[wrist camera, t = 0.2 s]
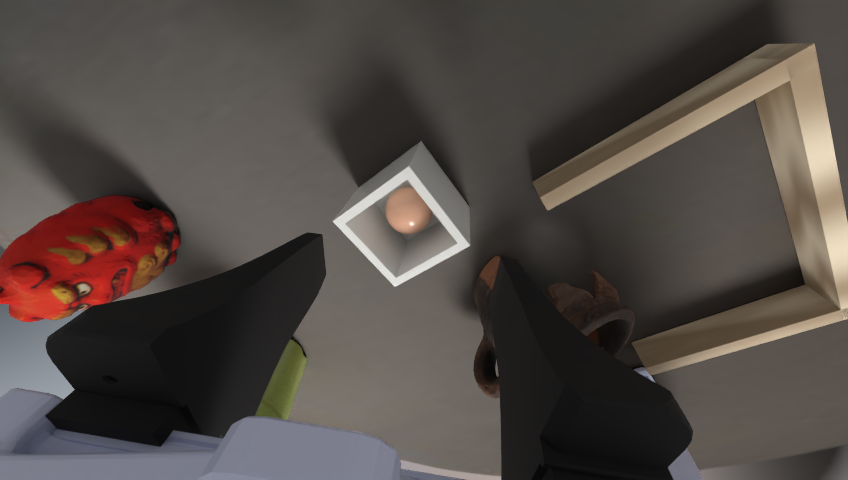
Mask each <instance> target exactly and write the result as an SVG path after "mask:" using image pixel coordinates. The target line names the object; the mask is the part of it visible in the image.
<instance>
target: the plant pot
mask: <svg viewBox="0 0 848 480" xmlns="http://www.w3.org/2000/svg"><path fill="white" fill-rule="evenodd" d="M306 362H307V358H306V357H305V356H304V355H303V352H302V348H301V347H300V346H299V345H298V344H297V343H296V342H295V341H293V340H292V339H290V341H289V342H288V344H287V346H286V348H285V350H284V352H283V354H282V356H281V358H280V360H279V362H278V364H277V366H276V368H275V371H274V373H273V375H272V377H271V380H270V382H269V384H268V386H267V389H266V391H265V393H264V395H263V398H262V400H261V403H260V405H259V407H258V410H257V412H256V415H255V416H268V417H274V418H280V419H286V420H287V419H288V416H289V413H290V410H291V407H292V404H293V401H294V398H295V395H296V392H297V389H298V386H299V383H300V380H301V377H302V375H303V372H304V369H305V366H306Z"/></svg>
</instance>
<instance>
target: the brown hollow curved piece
mask: <svg viewBox="0 0 848 480" xmlns="http://www.w3.org/2000/svg"><path fill="white" fill-rule="evenodd" d="M500 258H501V257H500V256H499V255H497V256H494V257H493V258H492V259H491V260H490V261H489V262H488V263H487V264H486V266H485V267H484V268H483V270H482V272H481V273H480V275H479V277H478V278H477V281H476V284H475V286H474V294H473V296H474V301H475V304H476V306H477V308H478V312H479V315H480V319H481V323H482V325H483V328H484V336H483V339H482V341H481V343H480V345H479V347H478V350H477V352H476V356H475V360H474V376H475V379H476V382H477V383H478V386H479V387H480V388H481V389H482V391H483V392H484V393H485V394H486V395H488V396H490V397H493V398H500V384H499V376H498V378H497V376H496V371H495V365H496V359H497V358H496V352H495V345H494V338H493V331H492V324H491V294H492V290H493V286H494V282H495V278H496V274H497V270H498V266H499V262H500ZM590 275H591V277H592V280H593V296H592V295H591V294H590V293H589V292H588V291H585V290H584V289H581V288H577V287H572V286H571V285H569V284H568V283H565V282H561V283H557V284H553V285H551V286H549V287H548V292H549V293H550V295H551V296H552V298H553V299H554V300H555V301H554V307H555V308H556V309H557V310H558V311H559V312H560V313H561V314H562V315H563V316H564V317H565V318H566V319H567V320H568V321H569V322H571V323H572V324H573V325H574V326H575V327H576V328H577V329H578V330H579V331H581V332H582V333H583V334H584V335H585V336H587V337H588V338H589V339H590V340H592V341H593V342H594V343H596V344H597V345H598V346H599V347H601V348H602V347H603V349H604V350H605V351H606V352H608V353H609V354H610V355H612V356H613V357H616V356H617V354H618V353H619V352H620V351H621V350H622V348H623V347H624V346H625V344H626V343H627V341H628V339H629V338H630V336H631V333H632V331H633V329H634V324H635V322H634V321H635V315H634V313H633V311H632V310H631V309H630V308H628V307H627V306H624V305H622V304H620V299H619V296H618V293H617V290H616V288H614V287H613V286H612V285H611V284H610V283H609V282H608V281H606V280H605V279H604V277H603V276H601V275H600V274H599V273H597V272H596V271H594V270H593V271H591V273H590Z"/></svg>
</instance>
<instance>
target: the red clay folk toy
mask: <svg viewBox="0 0 848 480" xmlns="http://www.w3.org/2000/svg"><path fill="white" fill-rule="evenodd" d="M180 242H181V239H180V238H179V232H178V228H177V223H176V221H175V219H174V217H173V216H172V215H171V214H170V213H169V212H167V211H166V210H159V209H157V208H155V207H153V208H150V205H149V204H148V203H147V202H145V201H143V200H141V199H138V198H134V197H130V196H122V195H110V196H104V197H99V198H97V199H93V200H90V201H87V202H82V203H76V204H74V205H72V206H70V207H69V208H67V209H65V210H63V211H61V212H60V213H59V214H55V215H53V216H50V217H48V218H46V219H44V220H43V221H41V222H39V223H38V224H37V225H36V226H34V227H33V228H32V229H30V230H29V231H28V232H27V233H25V234H23V235H21V236H20V237H18V238H17V239H15V240H14V241H13V242H12V243H11V244H10V245H9V246H8V248H7V249H6V250H5V252H4V253H3V255H2V256H1V258H0V304H9V313H10V315H11V316H12V317H14V318H16V319H18V320H21V321H24V322H33V321H39V320H41V319H44V318H46V319H50V320H58V319H62V318H65V317H68V316H71V315H72V314H73V313H74V312H76V311H78V310H82V309H86V308H90V307H91V306H93V305H98V304H104V303H110V302H112V301H114V300H116V299H118V298H120V297H123V296H125V295H126V294H128V293H129V292H131V291H134V290H138V289H140V288H142V287H144V286H146V285H147V284H149V283H150V282H151V281H152V280H154V279H155V278H156V277H158V276H159V275H160V274H161V273H162V272H163V271H164V269H165V267H166V266H169V265H171V264H173V263H174V262H175V261H176V259H177V257H176V253H175V251H174V250H176V249H177V248H178V247H179V246H180V245H181V243H180Z"/></svg>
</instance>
